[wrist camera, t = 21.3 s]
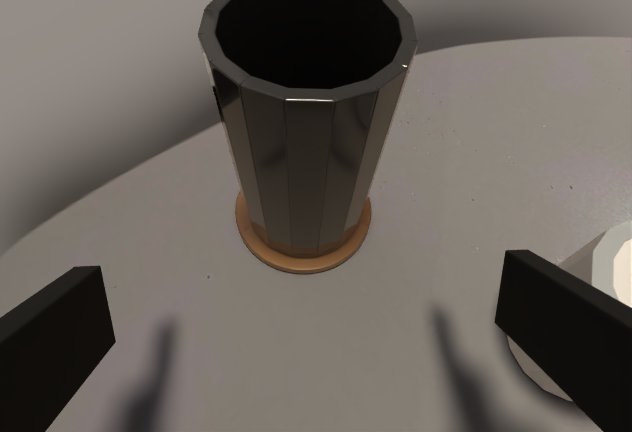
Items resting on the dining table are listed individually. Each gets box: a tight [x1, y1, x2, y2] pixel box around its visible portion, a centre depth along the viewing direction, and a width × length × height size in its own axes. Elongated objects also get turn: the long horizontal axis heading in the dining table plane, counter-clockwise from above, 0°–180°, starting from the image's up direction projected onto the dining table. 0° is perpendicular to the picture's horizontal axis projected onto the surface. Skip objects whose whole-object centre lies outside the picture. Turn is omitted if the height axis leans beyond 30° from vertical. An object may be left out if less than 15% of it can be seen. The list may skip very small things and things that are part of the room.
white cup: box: [507, 220, 632, 401], centre depth 14 cm, size 7×7×7 cm
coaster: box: [235, 190, 371, 274], centre depth 20 cm, size 8×8×1 cm
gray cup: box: [198, 0, 418, 258], centre depth 15 cm, size 7×7×11 cm
